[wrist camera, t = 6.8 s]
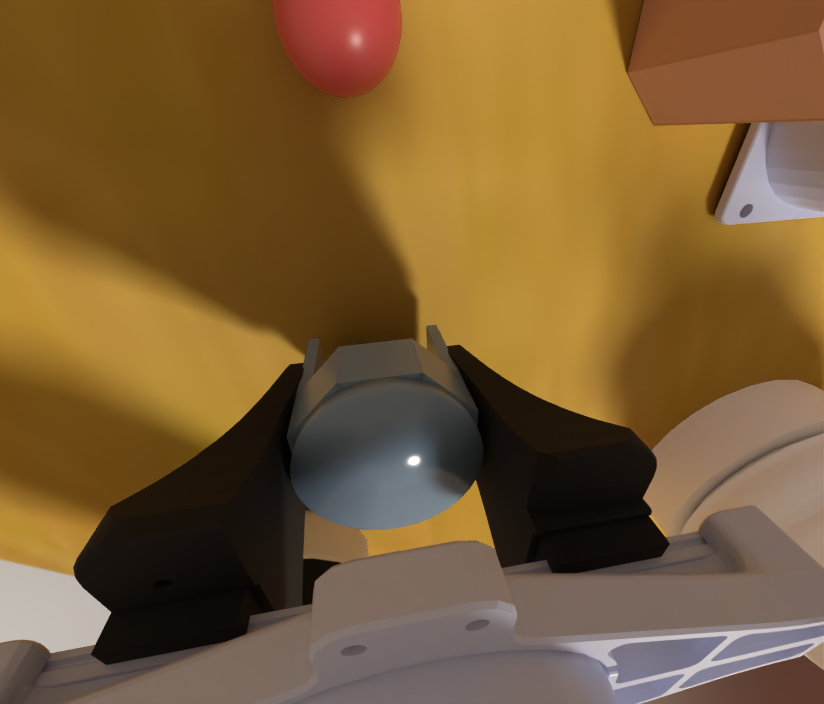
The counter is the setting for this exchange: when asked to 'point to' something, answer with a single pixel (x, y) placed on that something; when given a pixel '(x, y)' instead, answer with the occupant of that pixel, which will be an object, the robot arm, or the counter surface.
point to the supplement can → (327, 549)
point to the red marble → (340, 41)
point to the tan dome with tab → (730, 61)
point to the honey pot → (748, 465)
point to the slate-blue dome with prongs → (383, 433)
